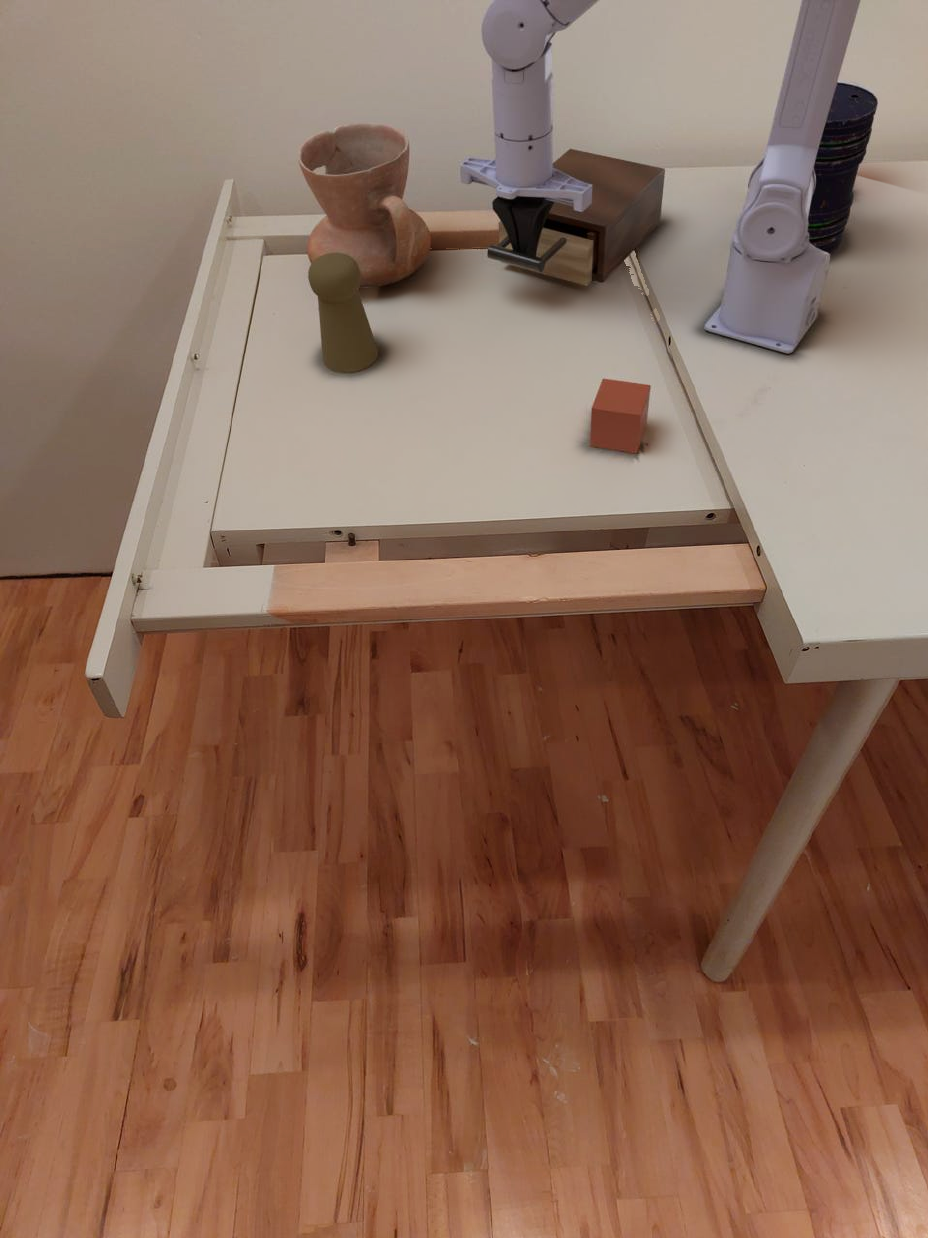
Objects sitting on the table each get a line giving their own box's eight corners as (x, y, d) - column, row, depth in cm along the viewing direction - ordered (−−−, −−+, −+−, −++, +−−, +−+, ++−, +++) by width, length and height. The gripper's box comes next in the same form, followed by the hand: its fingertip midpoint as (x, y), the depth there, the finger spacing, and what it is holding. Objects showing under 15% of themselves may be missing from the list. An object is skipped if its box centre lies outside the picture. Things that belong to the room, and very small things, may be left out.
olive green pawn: (370, 374, 94) (352, 278, 86) (315, 370, 95) (292, 275, 87) (384, 340, 98) (369, 244, 89) (331, 337, 99) (311, 242, 90)
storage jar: (774, 267, 101) (803, 127, 90) (740, 225, 107) (763, 90, 96) (858, 251, 102) (897, 111, 90) (819, 211, 108) (851, 75, 97)
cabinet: (603, 282, 102) (606, 226, 97) (508, 256, 107) (506, 201, 102) (660, 223, 109) (665, 168, 104) (569, 201, 114) (570, 148, 109)
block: (646, 423, 86) (650, 384, 83) (637, 453, 84) (640, 415, 80) (600, 416, 87) (602, 377, 84) (589, 446, 85) (591, 407, 81)
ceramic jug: (288, 260, 110) (259, 139, 99) (390, 221, 114) (374, 101, 103) (357, 326, 100) (333, 200, 89) (466, 281, 104) (457, 155, 93)
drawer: (558, 314, 97) (559, 267, 93) (470, 288, 102) (467, 242, 97) (641, 230, 107) (645, 184, 103) (557, 209, 111) (558, 165, 107)
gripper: (439, 131, 88) (450, 260, 99) (568, 160, 82) (566, 294, 93) (478, 103, 92) (485, 231, 102) (604, 128, 86) (598, 261, 97)
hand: (526, 259), depth 98 cm, fingers closed, pressing on drawer
